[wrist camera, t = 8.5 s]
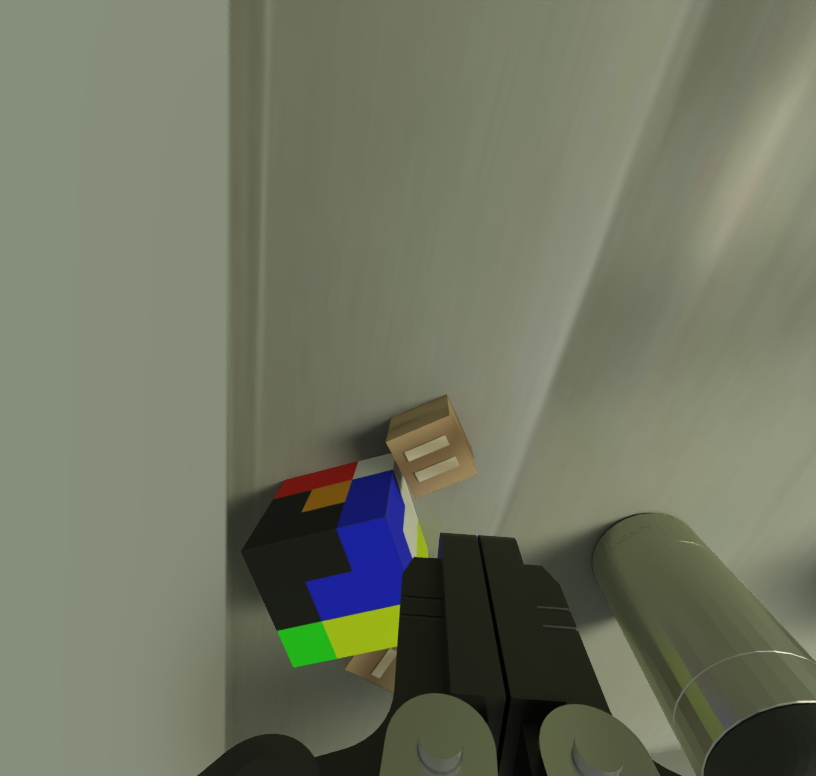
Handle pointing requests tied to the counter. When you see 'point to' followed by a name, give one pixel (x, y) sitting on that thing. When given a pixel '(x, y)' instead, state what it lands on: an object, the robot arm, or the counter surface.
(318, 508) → the puzzle toy
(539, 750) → the robot arm
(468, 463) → the two bar block
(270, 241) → the counter surface
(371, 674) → the one bar block
